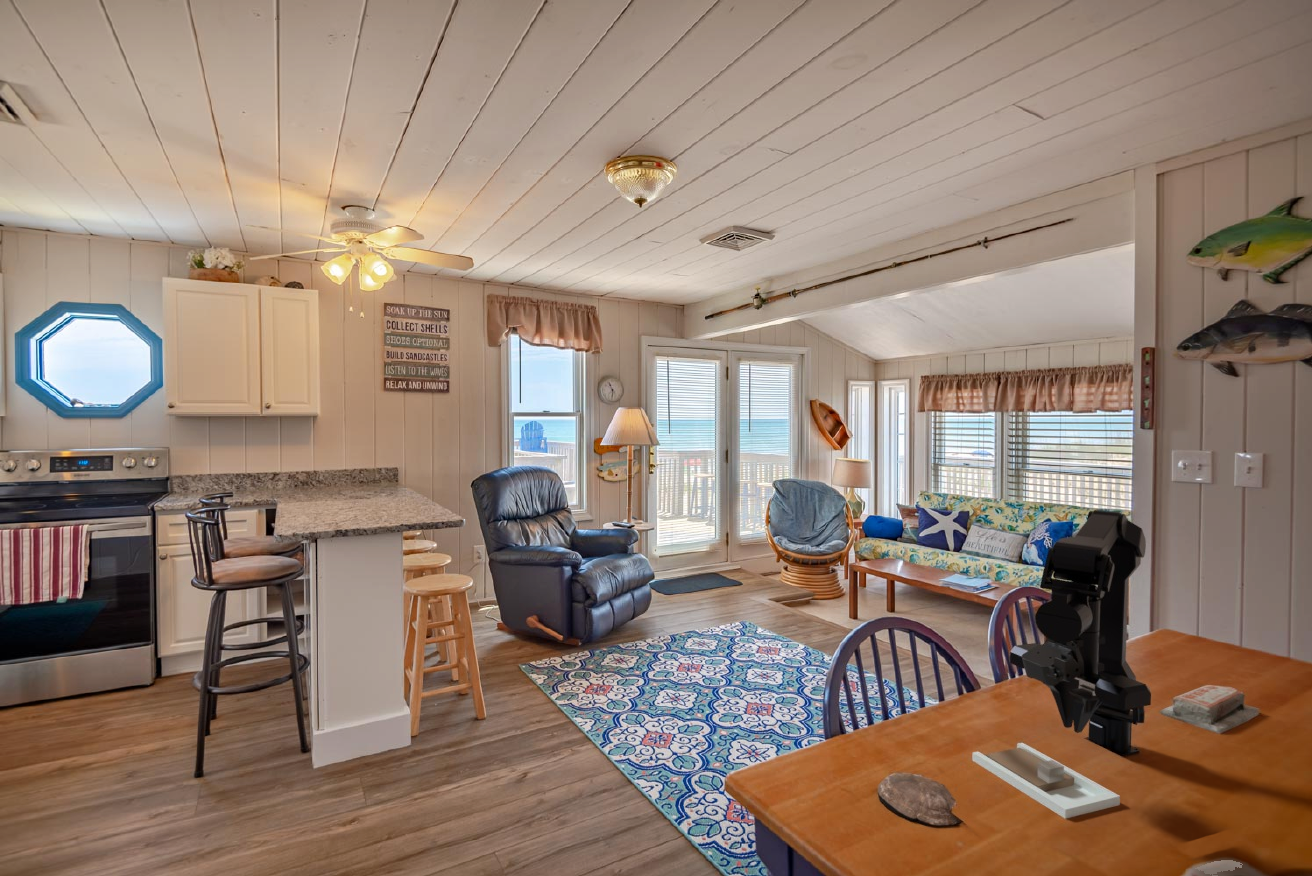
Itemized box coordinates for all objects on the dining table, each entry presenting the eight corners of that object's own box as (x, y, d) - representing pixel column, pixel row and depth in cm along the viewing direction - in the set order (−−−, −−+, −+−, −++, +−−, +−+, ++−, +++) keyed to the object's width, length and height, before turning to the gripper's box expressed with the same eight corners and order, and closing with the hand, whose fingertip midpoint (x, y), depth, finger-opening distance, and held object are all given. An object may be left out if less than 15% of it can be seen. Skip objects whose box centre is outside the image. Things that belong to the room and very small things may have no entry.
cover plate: (1019, 754, 113) (1020, 734, 113) (1074, 785, 103) (1074, 763, 103) (984, 761, 110) (985, 741, 110) (1037, 793, 101) (1038, 771, 101)
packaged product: (1222, 711, 124) (1160, 692, 133) (1221, 737, 124) (1159, 716, 133) (1261, 692, 133) (1201, 676, 142) (1260, 716, 133) (1200, 698, 142)
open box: (1021, 758, 114) (1022, 742, 114) (1119, 814, 98) (1120, 796, 98) (972, 769, 111) (972, 752, 111) (1064, 828, 95) (1065, 809, 94)
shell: (920, 838, 93) (921, 813, 92) (861, 791, 104) (861, 768, 104) (982, 821, 97) (982, 797, 97) (918, 777, 109) (918, 755, 109)
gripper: (984, 613, 105) (981, 710, 105) (1097, 653, 87) (1093, 769, 88) (1037, 608, 109) (1034, 701, 109) (1155, 645, 91) (1151, 756, 92)
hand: (1072, 729), depth 99 cm, fingers closed
